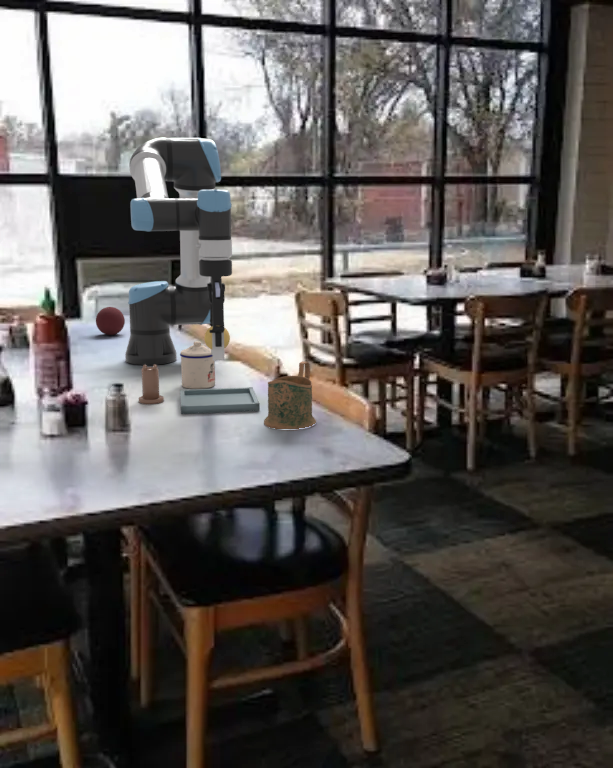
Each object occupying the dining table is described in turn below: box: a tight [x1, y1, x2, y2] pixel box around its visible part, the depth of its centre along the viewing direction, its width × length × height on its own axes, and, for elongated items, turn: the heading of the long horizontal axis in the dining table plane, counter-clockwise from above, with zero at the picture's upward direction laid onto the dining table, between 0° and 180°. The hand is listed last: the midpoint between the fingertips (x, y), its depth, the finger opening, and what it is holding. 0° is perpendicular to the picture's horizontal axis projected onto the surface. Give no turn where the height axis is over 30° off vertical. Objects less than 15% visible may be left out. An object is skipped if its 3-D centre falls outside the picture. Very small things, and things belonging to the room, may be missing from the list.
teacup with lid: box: [179, 341, 216, 390], centre depth 209 cm, size 12×9×12 cm
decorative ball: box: [95, 306, 126, 336], centre depth 281 cm, size 10×10×10 cm
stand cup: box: [138, 364, 165, 405], centre depth 192 cm, size 6×6×9 cm
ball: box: [203, 326, 231, 349], centre depth 187 cm, size 6×6×6 cm
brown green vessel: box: [263, 360, 317, 430], centre depth 177 cm, size 12×18×12 cm, turn 161°
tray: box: [179, 386, 261, 415], centre depth 191 cm, size 16×18×2 cm
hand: (217, 357), depth 188 cm, fingers closed on ball, 6 cm apart
